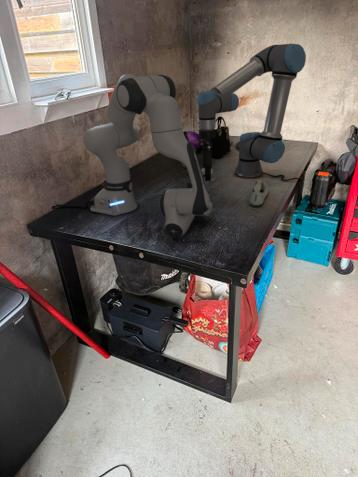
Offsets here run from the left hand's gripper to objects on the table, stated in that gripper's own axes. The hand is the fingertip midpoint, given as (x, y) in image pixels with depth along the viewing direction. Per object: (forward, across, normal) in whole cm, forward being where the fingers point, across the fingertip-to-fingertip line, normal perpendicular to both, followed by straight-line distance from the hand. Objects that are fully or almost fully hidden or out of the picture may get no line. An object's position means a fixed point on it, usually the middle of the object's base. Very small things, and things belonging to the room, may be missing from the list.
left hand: (192, 199), depth 147 cm
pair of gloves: (+117, +17, +6) cm, 119 cm away
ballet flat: (+21, -28, +6) cm, 35 cm away
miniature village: (+115, -19, +6) cm, 117 cm away
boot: (+71, +21, +6) cm, 75 cm away
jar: (-1, 0, +6) cm, 6 cm away
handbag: (+92, +4, +6) cm, 92 cm away
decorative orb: (+94, +25, +6) cm, 97 cm away
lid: (+18, -3, -8) cm, 20 cm away
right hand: (+18, -3, -4) cm, 18 cm away
